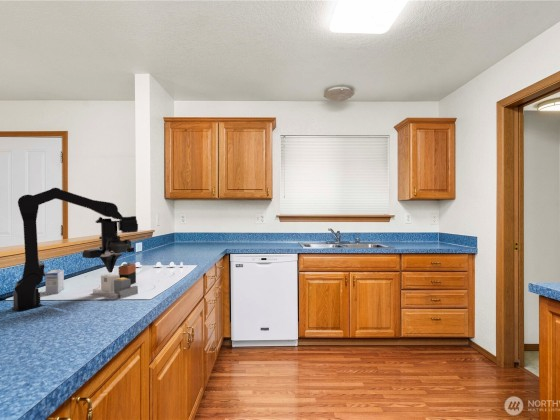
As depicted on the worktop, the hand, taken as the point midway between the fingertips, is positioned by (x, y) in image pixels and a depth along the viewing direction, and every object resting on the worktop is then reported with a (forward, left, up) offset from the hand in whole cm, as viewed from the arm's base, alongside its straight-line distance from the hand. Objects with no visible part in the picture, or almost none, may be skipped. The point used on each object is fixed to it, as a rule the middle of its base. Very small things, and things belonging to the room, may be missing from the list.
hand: (110, 272), depth 126 cm
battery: (+12, +6, -9) cm, 16 cm away
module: (0, 0, -8) cm, 8 cm away
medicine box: (-8, +25, -9) cm, 28 cm away
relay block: (0, -7, -8) cm, 11 cm away
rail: (0, -3, -9) cm, 9 cm away
